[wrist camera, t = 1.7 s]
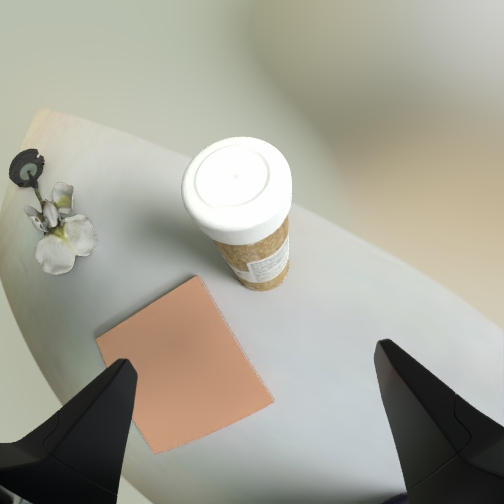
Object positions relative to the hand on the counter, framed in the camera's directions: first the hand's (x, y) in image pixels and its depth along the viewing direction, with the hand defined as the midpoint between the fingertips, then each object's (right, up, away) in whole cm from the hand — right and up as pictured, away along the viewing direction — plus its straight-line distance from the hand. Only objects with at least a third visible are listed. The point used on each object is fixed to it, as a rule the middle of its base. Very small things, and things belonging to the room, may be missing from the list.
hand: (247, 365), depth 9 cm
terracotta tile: (-6, -6, +12) cm, 15 cm away
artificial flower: (-25, +10, +21) cm, 34 cm away
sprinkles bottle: (+1, +3, +15) cm, 15 cm away
